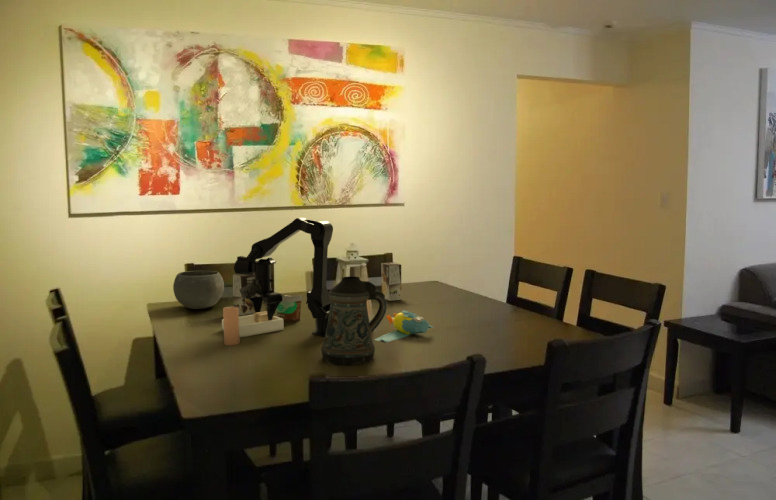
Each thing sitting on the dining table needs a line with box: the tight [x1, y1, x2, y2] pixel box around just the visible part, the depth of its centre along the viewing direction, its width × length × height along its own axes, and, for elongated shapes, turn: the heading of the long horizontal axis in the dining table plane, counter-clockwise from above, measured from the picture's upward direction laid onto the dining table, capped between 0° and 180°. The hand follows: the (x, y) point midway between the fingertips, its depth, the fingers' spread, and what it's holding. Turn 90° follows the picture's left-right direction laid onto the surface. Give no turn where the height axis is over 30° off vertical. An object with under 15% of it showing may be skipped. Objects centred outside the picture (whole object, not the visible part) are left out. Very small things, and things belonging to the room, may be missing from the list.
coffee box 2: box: [380, 261, 402, 302], centre depth 290 cm, size 9×6×16 cm
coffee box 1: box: [232, 272, 255, 316], centre depth 261 cm, size 9×6×16 cm
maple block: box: [253, 310, 273, 323], centre depth 235 cm, size 5×5×5 cm
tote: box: [221, 314, 285, 338], centre depth 232 cm, size 14×18×4 cm
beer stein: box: [320, 276, 388, 367], centre depth 196 cm, size 16×19×25 cm
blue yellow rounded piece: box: [373, 310, 434, 343], centre depth 226 cm, size 28×9×15 cm
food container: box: [276, 294, 304, 323], centre depth 247 cm, size 12×6×10 cm, turn 62°
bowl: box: [172, 270, 225, 310], centre depth 270 cm, size 20×20×15 cm
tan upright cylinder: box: [222, 306, 241, 346], centre depth 214 cm, size 5×5×12 cm
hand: (263, 318), depth 235 cm, fingers open, 9 cm apart
